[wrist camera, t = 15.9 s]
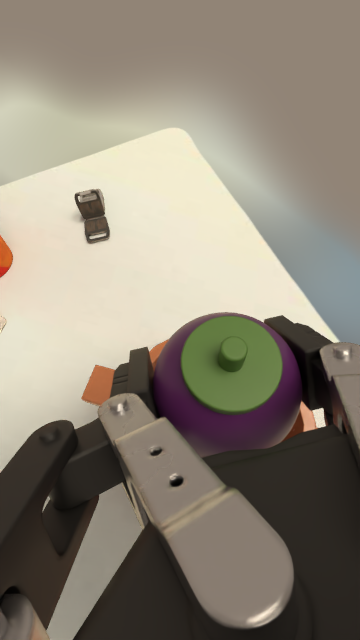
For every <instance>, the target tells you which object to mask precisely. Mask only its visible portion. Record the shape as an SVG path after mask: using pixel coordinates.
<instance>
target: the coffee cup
mask: <svg viewBox="0 0 360 640" xmlns="http://www.w3.org/2000/svg"><path fill="white" fill-rule="evenodd" d="M12 260H13V255H12V252H11V250H10V249H9V247H8V246H7V244H6V243H5V241H4V240H3V238H2V237H1V236H0V277H2V276H3V275H4V274H5V273H6V272H7V271H8V270H9V268H10V266H11V264H12Z"/></svg>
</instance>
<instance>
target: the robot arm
mask: <svg viewBox="0 0 360 640" xmlns="http://www.w3.org/2000/svg"><path fill="white" fill-rule="evenodd" d="M264 323H265V324H266V325H268V326H269V327H270V328H272V329H273V330H274V331H276V332H277V333H278V334H279V335H280V336H281V337H282V338H283V340H284V341H285V342H286V343H287V344H288V346H289V348H290V349H291V351H292V352H293V354H294V356H295V358H296V361H297V364H298V367H299V370H300V374H301V379H302V402H303V403H304V404H305V405H306V406H307V408H308V409H309V410H310V411H311V410H315V409H319V408H323V409H324V419H325V424H326V426H325V427H321V428H317V429H313V430H309V431H305V432H301V433H299V434H297V435H295V436H293V437H291V438H289V439H287V440H285V441H283V442H281V443H279V444H277V445H275V446H273V447H270V448H266V449H250V450H232V451H226V452H222V453H218V454H214V455H210V456H206V457H202V458H201V457H200V456H199V455H198V454H197V453H196V451H195V450H194V449H193V448H192V447H191V446H190V445H189V443H188V442H187V441H186V440H185V439H184V438H183V437H182V435H181V434H180V433H179V432H178V431H177V430H176V429H175V427H174V426H173V425H172V424H171V423H170V422H169V421H168V419H167V418H166V417H164V416H163V417H161V418H160V416H159V414H158V412H157V408H156V405H155V401H154V394H153V377H154V369H153V366H152V362H151V358H150V354H149V350H148V348H147V347H144V348H140V349H136V350H131V351H130V359H129V363H125V364H121V365H119V367H118V368H117V369H116V370H115V371H114V375H113V381H112V387H111V392H110V398H109V399H108V400H106V401H105V402H104V403H102V404H101V406H100V407H99V409H98V415H99V418H97V419H96V420H94V421H93V422H91V423H89V424H87V425H84V426H82V427H80V428H78V429H74V426H73V424H72V423H71V422H70V421H67V420H59V421H54V422H51V423H48V424H46V425H44V426H42V427H41V428H39V429H37V430H36V431H35V432H34V433H33V434H31V436H30V437H29V438H28V439H27V440H26V442H25V443H24V444H23V445H22V447H21V448H20V449H19V450H18V452H17V453H16V454H15V455H14V457H13V458H12V459H11V460H10V462H9V463H8V464H7V465H6V467H5V468H4V469H3V470H2V472H1V473H0V640H50V638H49V635H48V634H47V632H46V630H47V628H48V625H49V623H50V620H51V618H52V615H53V613H54V610H55V608H56V605H57V603H58V600H59V598H60V595H61V593H62V590H63V588H64V585H65V583H66V580H67V578H68V575H69V573H70V570H71V568H72V565H73V563H74V560H75V558H76V555H77V553H78V550H79V548H80V546H81V543H82V541H83V538H84V536H85V533H86V531H87V528H88V526H89V523H90V521H91V518H92V516H93V513H94V511H95V508H96V506H97V503H98V500H99V494H101V493H103V492H105V491H107V490H108V489H110V488H112V487H114V486H116V485H118V484H120V483H122V485H123V487H124V490H125V492H126V494H127V496H128V499H129V501H130V503H131V505H132V507H133V510H134V512H135V514H136V516H137V519H138V521H139V523H140V526H141V528H142V532H141V534H140V535H139V537H138V538H137V540H136V542H135V543H134V545H133V546H132V548H131V549H130V551H129V552H128V554H127V556H126V557H125V559H124V560H123V562H122V563H121V565H120V567H119V568H118V570H117V571H116V573H115V574H114V576H113V578H112V579H111V581H110V582H109V584H108V585H107V587H106V589H105V590H104V592H103V593H102V595H101V596H100V598H99V599H98V601H97V603H96V604H95V606H94V607H93V609H92V610H91V612H90V614H89V615H88V617H87V618H86V620H85V621H84V623H83V625H82V626H81V628H80V629H79V631H78V632H77V634H76V635H75V637H74V639H73V640H360V345H357V344H353V343H346V342H344V343H343V342H339V343H333V342H332V341H330V340H328V339H327V338H325V337H324V336H322V335H320V334H319V333H318V332H315V330H313V329H312V328H310V327H309V326H306V325H302V324H299V323H295V324H294V323H293V322H291V321H290V320H288V319H287V318H285V317H284V316H282V315H281V316H277V317H273V318H269V319H265V320H264ZM48 495H49V497H50V500H49V502H48V504H47V506H46V507H45V509H44V511H43V513H42V510H43V506H44V503H45V501H46V499H47V497H48Z"/></svg>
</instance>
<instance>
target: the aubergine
mask: <svg viewBox="0 0 360 640" xmlns="http://www.w3.org/2000/svg"><path fill="white" fill-rule="evenodd" d="M153 394H154V401H155V405H156V408H157V412H158V414H159V416H160V418H161V417H163V416H164V417H166V418H167V419H168V421H169V422H170V423H171V424H172V425H173V426H174V427H175V429H176V430H177V431H178V432H179V433H180V434H181V435H182V437H183V438H184V439H185V440H186V441H187V442H188V443H189V445H190V446H191V447H192V448H193V449H194V450H195V451H196V453H197V454H198V455H199V456H200V457H201V458H202V457H206V456H210V455H214V454H218V453H222V452H226V451H232V450H250V449H266V448H270V447H273V446H275V445H277V444H279V443H280V442H281V441H282V440H283V439H284V438H285V437H286V436H287V434H288V433H289V432H290V431H291V429H292V427H293V425H294V423H295V421H296V419H297V416H298V413H299V410H300V405H301V401H302V379H301V374H300V370H299V367H298V364H297V361H296V358H295V356H294V354H293V352H292V351H291V349H290V348H289V346H288V344H287V343H286V342H285V341H284V340H283V338H282V337H281V336H280V335H279V334H278V333H277V332H276V331H274V330H273V329H272V328H270V327H269V326H268V325H266V324H265V323H263V322H261V321H259V320H257V319H255V318H253V317H250V316H247V315H243V314H238V313H228V312H224V313H214V314H208V315H205V316H202V317H199V318H196V319H194V320H192V321H190V322H189V323H187V324H185V325H184V326H183V327H181V328H180V329H179V330H178V331H176V332H175V333H174V334H173V335H172V337H171V338H170V339H169V340H168V342H167V343H166V344H165V346H164V347H163V349H162V351H161V353H160V355H159V357H158V360H157V363H156V367H155V371H154V377H153Z"/></svg>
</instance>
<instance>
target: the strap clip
mask: <svg viewBox="0 0 360 640" xmlns="http://www.w3.org/2000/svg"><path fill="white" fill-rule="evenodd" d="M93 195H95V196H93ZM78 196H80V202H79V200H78ZM88 196H90V197H88ZM85 197H86V198H85ZM75 201H76V204H77V206H78V208H79V210H80V212H81V214H82V216H83V218H84V219H86V221H85V235H86V238H87V241H88V242H89V243H92V242H97V241H101V240H105V239H108V238H109V237H110V230H109V226H108V223H107V219H106V217H105V216H104V214H105V212H104V211H105V206H104V198H103V195H102V192H101V190H100V189H92V190H88V191H83V192H79V193H76V194H75ZM103 216H104V217H103ZM104 232H107V235H106V236H103V237H99V238H95V239H90V238H89V236H91V235H95V234H100V233H104Z"/></svg>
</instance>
